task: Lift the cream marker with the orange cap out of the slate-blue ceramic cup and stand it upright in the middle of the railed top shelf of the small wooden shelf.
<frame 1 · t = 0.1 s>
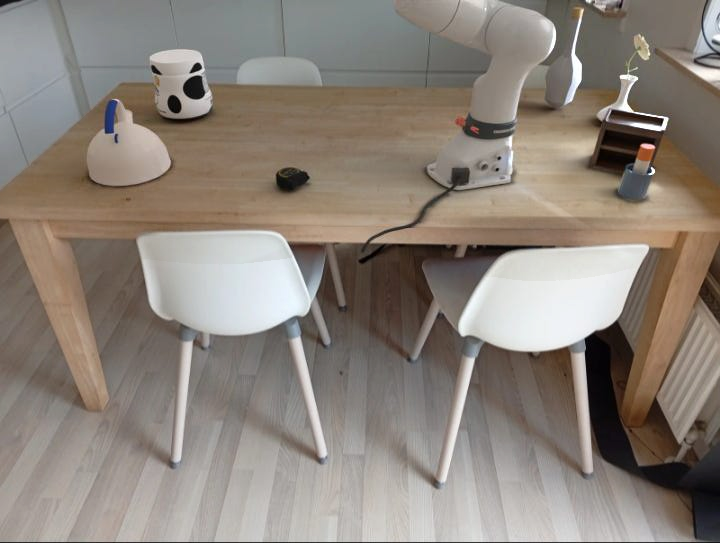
small wooden shelf: (620, 167, 141), on the table
kettle: (131, 169, 141), on the table
bottle: (556, 109, 175), on the table
pen cup: (631, 195, 129), on the table, touching marker
flower in vase: (615, 122, 166), on the table
milk container: (187, 115, 172), on the table
marker: (631, 193, 128), point 1 cm above the table, touching pen cup
tape measure: (293, 187, 133), on the table
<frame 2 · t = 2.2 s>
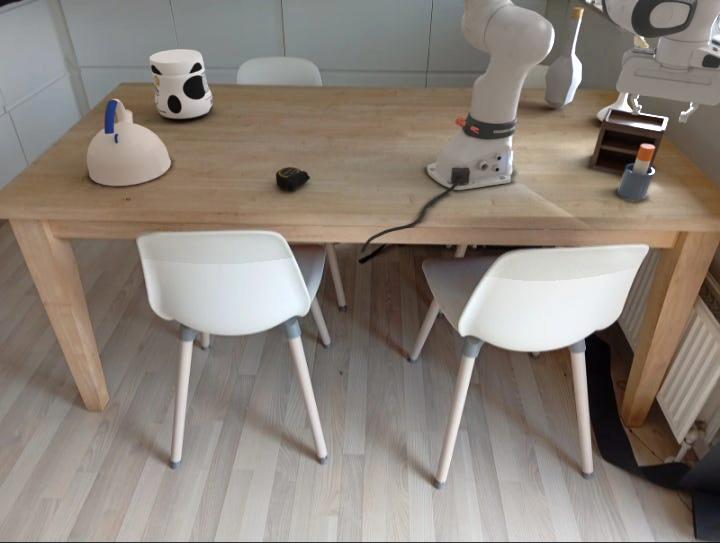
hand: (658, 117, 117), 19 cm above the table, tool pointing down, fingers open, 8 cm apart
nothing on the table moved.
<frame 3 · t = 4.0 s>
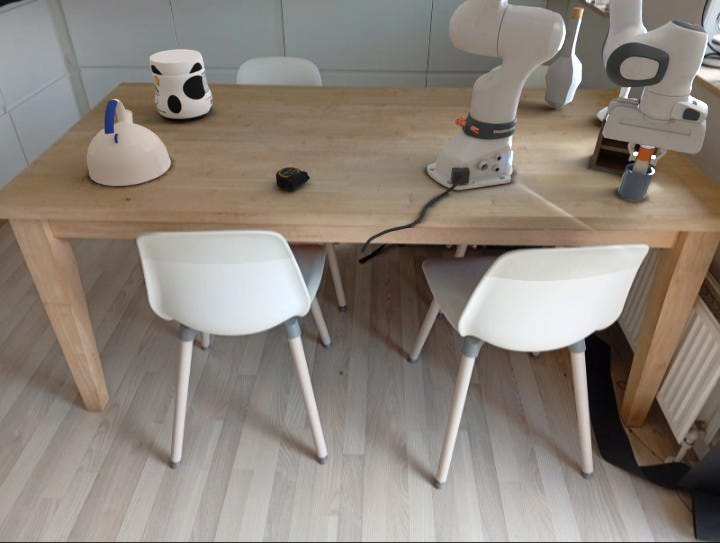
hand: (642, 162, 124), 9 cm above the table, tool pointing down, fingers closed on marker, 3 cm apart
marker: (631, 193, 128), point 1 cm above the table, touching gripper, pen cup
everything else where it was.
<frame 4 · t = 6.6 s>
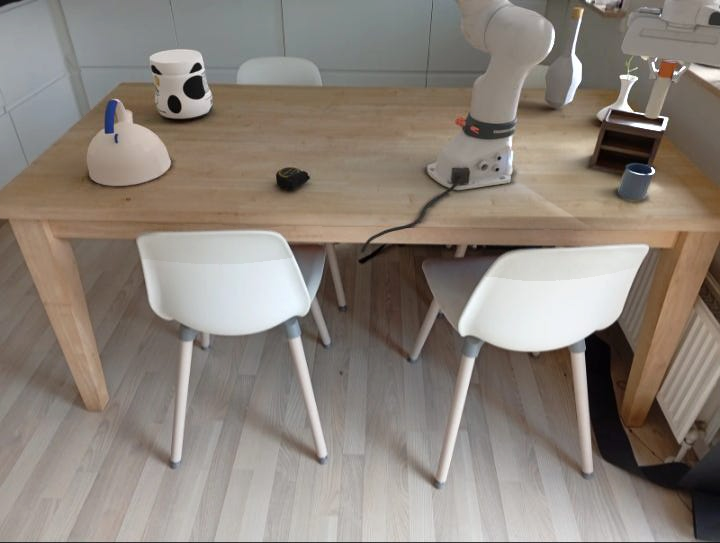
hand: (663, 80, 117), 26 cm above the table, tool pointing down, fingers closed on marker, 3 cm apart
pen cup: (631, 195, 129), on the table
marker: (651, 116, 122), point 18 cm above the table, touching gripper
everything else where it was.
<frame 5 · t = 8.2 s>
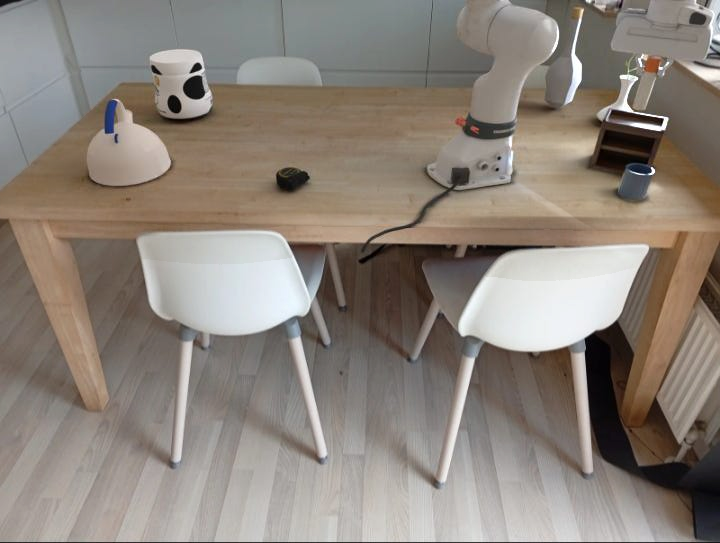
hand: (649, 75, 127), 24 cm above the table, tool pointing down, fingers closed on marker, 3 cm apart
marker: (638, 108, 132), point 16 cm above the table, touching gripper
everything else where it was.
when the fingers open (20 cm above the table, at t = 9.5 s): marker stays where it is, resting on small wooden shelf.
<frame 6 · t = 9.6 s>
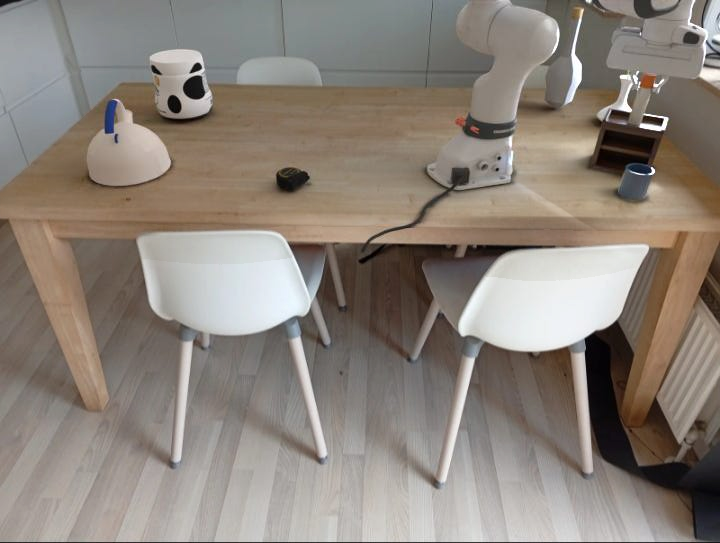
hand: (644, 91, 129), 20 cm above the table, tool pointing down, fingers open, 3 cm apart
marker: (634, 122, 134), point 12 cm above the table, touching small wooden shelf
everything else where it was.
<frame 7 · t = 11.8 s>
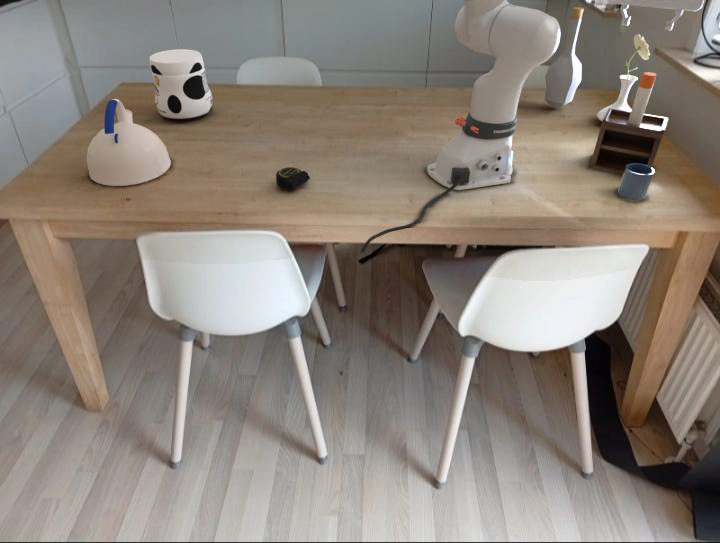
hand: (646, 27, 127), 33 cm above the table, tool pointing down, fingers open, 8 cm apart
nothing on the table moved.
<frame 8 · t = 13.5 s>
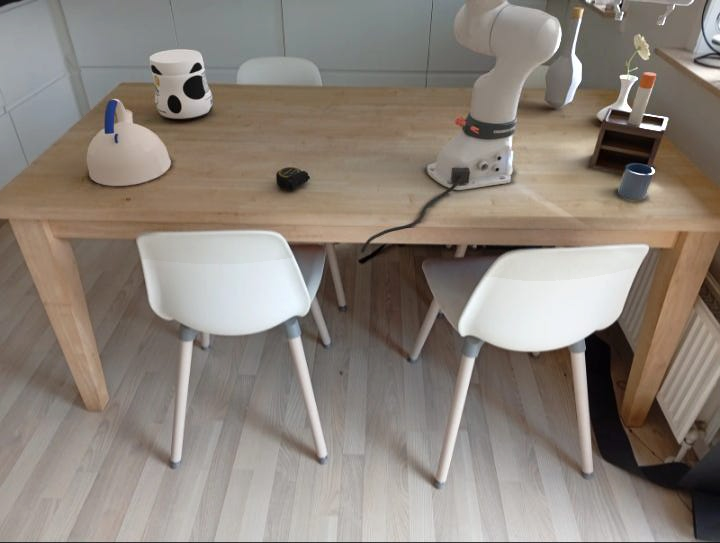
hand: (638, 22, 130), 33 cm above the table, tool pointing down, fingers open, 8 cm apart
nothing on the table moved.
at the end: marker inside the target area on the small wooden shelf (0.1 cm from its centre), point 12.0 cm above the small wooden shelf's base; marker tilted 0°; the gripper is holding nothing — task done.
